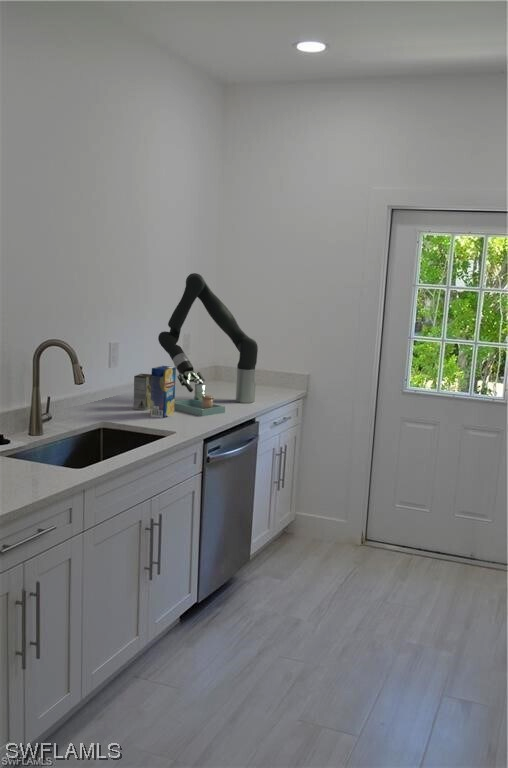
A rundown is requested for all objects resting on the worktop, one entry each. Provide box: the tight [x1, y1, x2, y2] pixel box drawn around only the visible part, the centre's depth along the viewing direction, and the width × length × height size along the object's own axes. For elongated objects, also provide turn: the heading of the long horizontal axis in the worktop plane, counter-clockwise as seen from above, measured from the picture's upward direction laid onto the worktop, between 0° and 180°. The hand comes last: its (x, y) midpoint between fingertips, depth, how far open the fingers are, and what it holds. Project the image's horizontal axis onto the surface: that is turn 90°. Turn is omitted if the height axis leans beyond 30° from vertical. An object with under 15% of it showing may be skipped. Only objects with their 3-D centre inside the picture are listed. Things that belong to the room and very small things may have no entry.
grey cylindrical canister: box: [193, 383, 207, 401], centre depth 366 cm, size 5×5×11 cm
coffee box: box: [132, 373, 152, 411], centre depth 354 cm, size 9×6×16 cm
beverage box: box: [149, 365, 177, 419], centre depth 341 cm, size 7×11×22 cm, turn 161°
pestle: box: [202, 394, 214, 409], centre depth 349 cm, size 5×5×8 cm
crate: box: [174, 398, 226, 417], centre depth 353 cm, size 15×22×4 cm
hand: (198, 390), depth 367 cm, fingers open, 8 cm apart
